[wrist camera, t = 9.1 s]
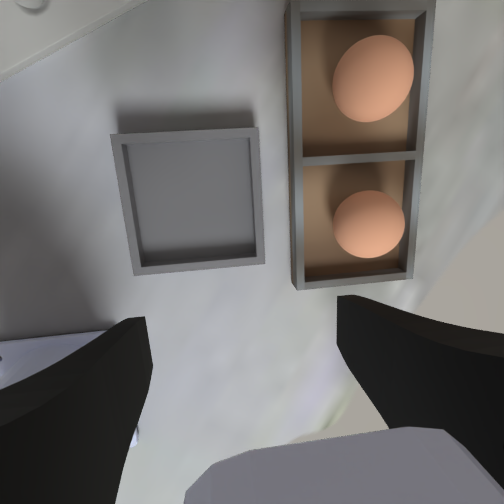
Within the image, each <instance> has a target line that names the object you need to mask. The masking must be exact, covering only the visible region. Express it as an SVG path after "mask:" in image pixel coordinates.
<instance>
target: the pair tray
mask: <svg viewBox="0 0 504 504" xmlns="http://www.w3.org/2000/svg"><path fill="white" fill-rule="evenodd" d="M435 8H436V0H291V1H290V3H289V5H288V8H287V10H286V12H285V14H284V19H285V56H286V93H287V130H288V168H289V205H290V242H291V279H292V284H293V285H294V287H295V288H296V290H307V289H316V288H326V287H336V286H346V285H356V284H366V283H376V282H385V281H395V280H405V279H413V272H414V260H415V248H416V236H417V224H418V212H419V200H420V188H421V176H422V164H423V152H424V140H425V128H426V116H427V104H428V92H429V80H430V68H431V56H432V44H433V32H434V20H435ZM375 35H386V36H391V37H393V38H396V39H397V40H399V41H400V42H402V43H403V44H404V45H405V46H406V48H407V49H408V51H409V52H410V54H411V57H412V60H413V65H414V77H413V82H412V86H411V89H410V91H409V93H408V95H407V97H406V98H405V100H404V101H403V103H402V104H401V105H400V106H399V107H398V108H397V109H396V110H395V111H394V112H393V113H391V114H390V115H388V116H387V117H385V118H383V119H380V120H377V121H373V122H359V121H355V120H352V119H350V118H348V117H347V116H345V115H344V114H343V113H342V112H341V111H340V110H339V108H338V107H337V105H336V103H335V100H334V97H333V92H332V82H333V76H334V72H335V69H336V67H337V64H338V62H339V61H340V59H341V57H342V56H343V55H344V53H345V52H346V51H347V50H348V49H349V48H350V47H351V46H353V45H354V44H355V43H357V42H358V41H360V40H362V39H364V38H367V37H370V36H375ZM366 190H374V191H379V192H383V193H385V194H387V195H389V196H390V197H392V198H393V199H394V200H395V201H396V202H397V203H398V204H399V206H400V207H401V209H402V211H403V214H404V219H405V228H404V232H403V235H402V237H401V239H400V241H399V243H398V244H397V245H396V246H395V247H394V248H393V249H392V250H391V251H389V252H388V253H386V254H384V255H381V256H378V257H374V258H361V257H357V256H354V255H352V254H350V253H348V252H347V251H345V250H344V249H343V248H342V247H341V246H340V245H339V244H338V242H337V240H336V238H335V236H334V233H333V218H334V215H335V212H336V210H337V208H338V207H339V205H340V204H341V203H342V202H343V201H344V200H345V199H346V198H347V197H349V196H351V195H352V194H355V193H357V192H361V191H366Z"/></svg>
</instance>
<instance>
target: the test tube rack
mask: <svg viewBox="0 0 504 504" xmlns="http://www.w3.org/2000/svg"><path fill="white" fill-rule="evenodd" d="M146 1H148V0H0V83H1V82H2V81H4V80H6V79H8V78H10V77H11V76H13V75H15V74H17V73H19V72H20V71H22V70H24V69H26V68H28V67H29V66H31V65H33V64H35V63H36V62H38V61H40V60H42V59H44V58H45V57H47V56H49V55H51V54H53V53H54V52H56V51H58V50H60V49H62V48H63V47H65V46H67V45H69V44H70V43H72V42H74V41H76V40H78V39H79V38H81V37H83V36H85V35H87V34H88V33H90V32H92V31H94V30H96V29H97V28H99V27H101V26H103V25H105V24H106V23H108V22H110V21H112V20H113V19H115V18H117V17H119V16H121V15H122V14H124V13H126V12H128V11H130V10H131V9H133V8H135V7H137V6H139V5H140V4H142V3H144V2H146Z"/></svg>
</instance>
